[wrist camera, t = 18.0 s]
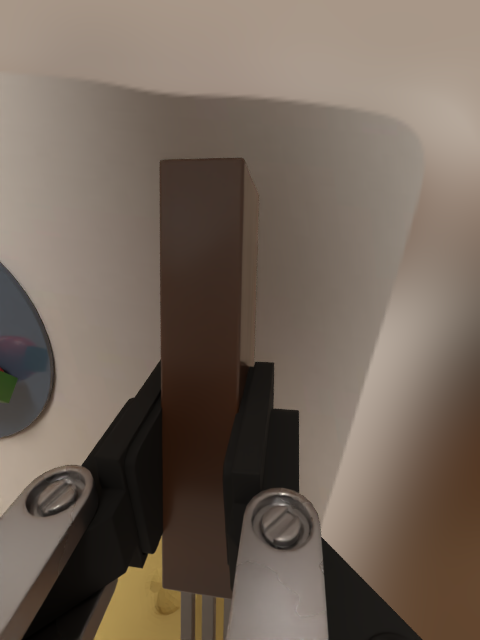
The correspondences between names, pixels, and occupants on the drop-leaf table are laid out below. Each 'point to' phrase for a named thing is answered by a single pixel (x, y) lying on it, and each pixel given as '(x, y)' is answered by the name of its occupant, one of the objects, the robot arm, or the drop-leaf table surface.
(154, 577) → the cheese
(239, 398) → the fork
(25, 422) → the plate
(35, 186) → the drop-leaf table surface
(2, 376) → the red toy pepper
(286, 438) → the robot arm
